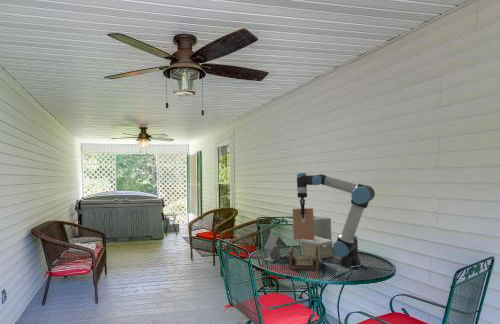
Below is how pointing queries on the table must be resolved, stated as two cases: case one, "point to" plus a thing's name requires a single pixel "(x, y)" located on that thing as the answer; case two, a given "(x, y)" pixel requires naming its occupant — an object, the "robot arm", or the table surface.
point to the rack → (292, 266)
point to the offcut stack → (303, 261)
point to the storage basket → (322, 244)
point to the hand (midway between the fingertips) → (303, 221)
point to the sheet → (303, 224)
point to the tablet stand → (270, 245)
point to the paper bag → (322, 227)
